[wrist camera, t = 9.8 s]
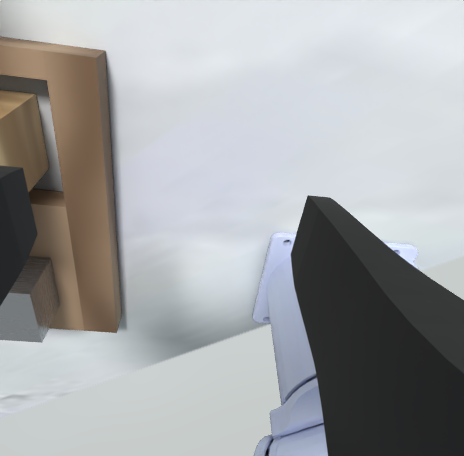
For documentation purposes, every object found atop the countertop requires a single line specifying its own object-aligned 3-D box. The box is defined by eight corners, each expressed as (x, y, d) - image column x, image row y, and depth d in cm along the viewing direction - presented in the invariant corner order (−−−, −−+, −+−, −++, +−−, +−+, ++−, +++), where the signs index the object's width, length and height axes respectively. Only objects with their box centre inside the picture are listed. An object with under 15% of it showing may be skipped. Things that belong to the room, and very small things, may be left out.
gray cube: (60, 242, 23) (29, 294, 20) (67, 288, 26) (42, 342, 22) (-8, 236, 23) (-51, 288, 19) (6, 283, 25) (-30, 337, 22)
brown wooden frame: (105, 50, 17) (96, 57, 16) (121, 316, 27) (116, 332, 26) (-157, 15, 16) (-188, 19, 15) (-38, 304, 26) (-50, 321, 25)
